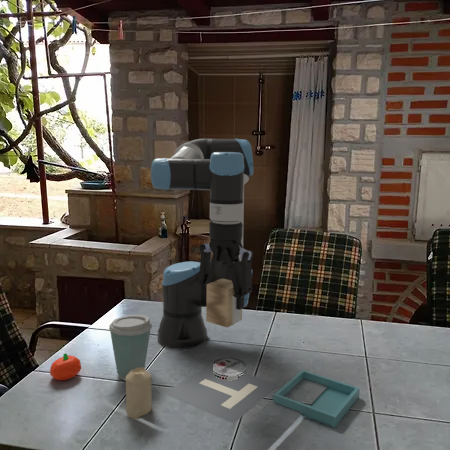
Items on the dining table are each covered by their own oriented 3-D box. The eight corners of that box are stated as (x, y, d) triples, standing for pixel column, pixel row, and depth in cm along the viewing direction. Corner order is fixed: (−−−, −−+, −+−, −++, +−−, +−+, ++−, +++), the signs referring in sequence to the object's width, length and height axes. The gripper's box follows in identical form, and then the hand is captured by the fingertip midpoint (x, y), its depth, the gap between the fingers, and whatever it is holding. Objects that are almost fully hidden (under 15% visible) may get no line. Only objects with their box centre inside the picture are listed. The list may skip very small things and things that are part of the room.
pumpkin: (44, 384, 116) (40, 359, 115) (66, 370, 124) (63, 346, 123) (67, 386, 114) (63, 361, 113) (88, 371, 121) (85, 348, 120)
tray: (273, 404, 108) (273, 394, 107) (301, 378, 120) (302, 369, 119) (334, 428, 99) (335, 417, 99) (359, 397, 111) (359, 387, 111)
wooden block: (206, 321, 109) (206, 284, 107) (221, 314, 114) (221, 278, 112) (227, 327, 105) (228, 289, 104) (242, 319, 110) (242, 283, 109)
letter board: (163, 396, 110) (163, 393, 110) (214, 364, 126) (214, 361, 126) (233, 426, 99) (233, 423, 99) (279, 387, 115) (279, 384, 115)
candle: (146, 420, 101) (145, 377, 99) (122, 417, 102) (121, 375, 100) (155, 406, 106) (154, 366, 104) (132, 403, 107) (131, 363, 105)
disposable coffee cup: (101, 379, 118) (99, 323, 115) (124, 361, 127) (123, 309, 125) (138, 388, 114) (137, 330, 111) (159, 368, 124) (159, 314, 121)
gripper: (183, 218, 108) (183, 313, 112) (252, 228, 97) (250, 333, 101) (203, 214, 114) (202, 305, 118) (271, 223, 103) (267, 323, 107)
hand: (224, 318), depth 109 cm, fingers closed on wooden block, 6 cm apart
